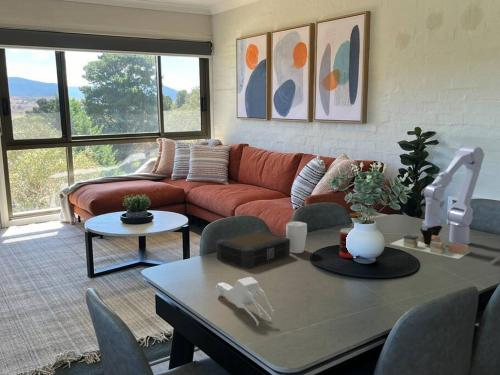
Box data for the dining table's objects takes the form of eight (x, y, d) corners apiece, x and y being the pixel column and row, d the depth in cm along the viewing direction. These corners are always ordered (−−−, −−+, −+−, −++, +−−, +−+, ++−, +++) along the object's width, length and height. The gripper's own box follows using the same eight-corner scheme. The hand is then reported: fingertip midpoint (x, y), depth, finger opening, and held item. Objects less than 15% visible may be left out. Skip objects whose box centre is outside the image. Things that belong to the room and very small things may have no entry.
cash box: (248, 270, 180) (248, 251, 179) (214, 258, 195) (214, 240, 194) (292, 256, 197) (292, 238, 196) (258, 246, 212) (258, 229, 211)
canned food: (360, 254, 199) (361, 229, 197) (355, 260, 192) (356, 233, 190) (342, 252, 202) (342, 227, 200) (337, 257, 195) (338, 231, 193)
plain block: (434, 249, 202) (435, 239, 202) (444, 251, 199) (445, 241, 199) (430, 251, 199) (430, 241, 199) (440, 254, 196) (441, 243, 196)
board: (403, 240, 220) (403, 238, 220) (470, 254, 199) (470, 251, 199) (389, 246, 211) (389, 243, 211) (458, 261, 190) (458, 258, 190)
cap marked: (426, 239, 212) (427, 234, 211) (439, 242, 208) (440, 236, 207) (421, 242, 208) (421, 236, 207) (434, 245, 204) (434, 239, 203)
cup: (306, 248, 208) (307, 221, 206) (306, 254, 199) (307, 226, 197) (285, 247, 209) (286, 221, 207) (285, 254, 200) (285, 226, 198)
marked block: (408, 243, 211) (408, 234, 210) (417, 245, 208) (418, 236, 207) (403, 245, 208) (403, 236, 207) (412, 248, 205) (413, 238, 204)
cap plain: (453, 248, 204) (454, 242, 203) (467, 251, 200) (468, 245, 199) (448, 251, 200) (448, 245, 199) (462, 254, 196) (462, 248, 195)
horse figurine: (263, 345, 141) (223, 290, 158) (276, 304, 134) (232, 251, 151) (249, 349, 139) (210, 293, 156) (262, 308, 131) (219, 254, 148)
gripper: (430, 208, 214) (428, 238, 216) (415, 214, 203) (414, 244, 206) (446, 211, 209) (444, 241, 211) (432, 216, 198) (429, 248, 201)
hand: (430, 243), depth 208 cm, fingers closed on cap marked, 6 cm apart
